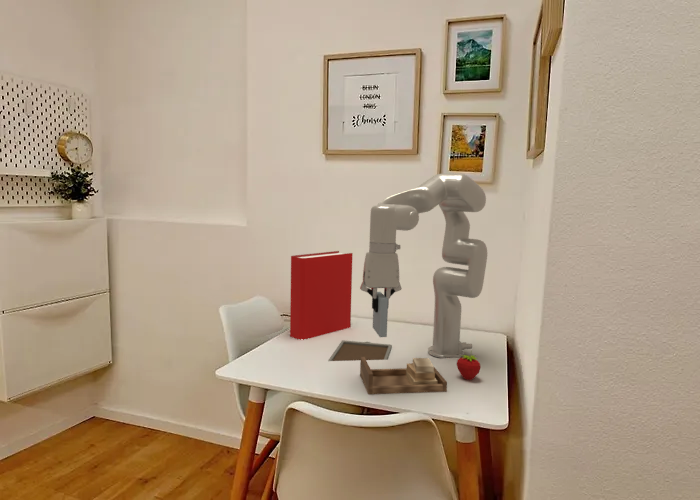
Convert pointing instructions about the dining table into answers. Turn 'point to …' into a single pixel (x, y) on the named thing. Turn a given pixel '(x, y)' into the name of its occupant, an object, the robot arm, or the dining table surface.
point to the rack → (395, 381)
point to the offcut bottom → (419, 382)
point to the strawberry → (468, 366)
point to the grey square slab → (381, 316)
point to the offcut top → (423, 365)
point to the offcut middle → (419, 376)
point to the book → (320, 294)
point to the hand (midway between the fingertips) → (380, 310)
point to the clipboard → (360, 351)
